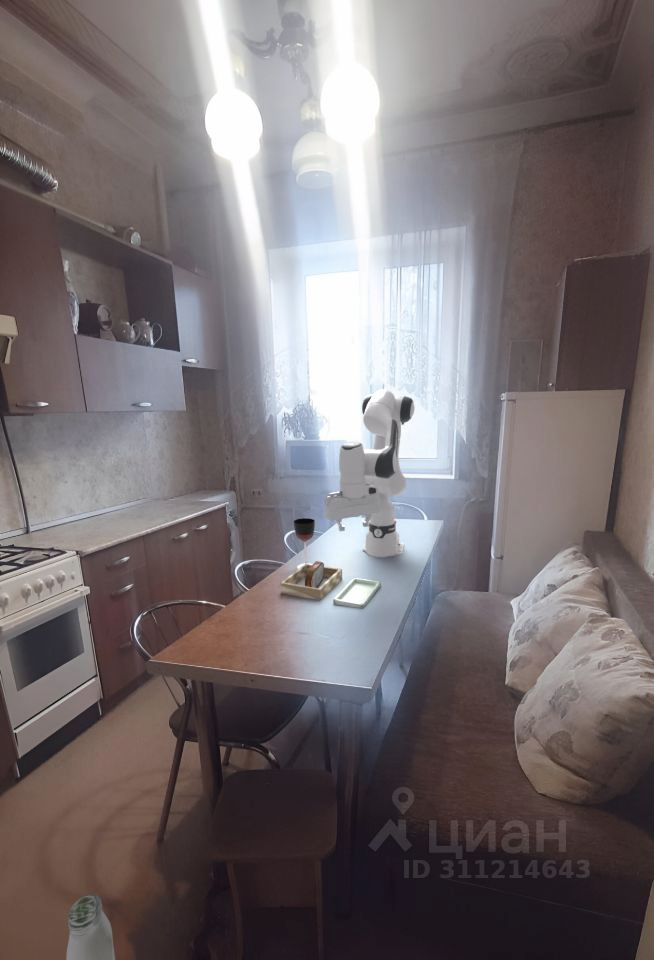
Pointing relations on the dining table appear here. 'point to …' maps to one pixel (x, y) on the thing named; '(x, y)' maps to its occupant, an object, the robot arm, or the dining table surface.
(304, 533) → the wineglass
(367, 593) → the sage tray
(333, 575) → the birch crate
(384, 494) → the robot arm
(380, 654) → the dining table surface
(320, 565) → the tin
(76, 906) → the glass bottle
